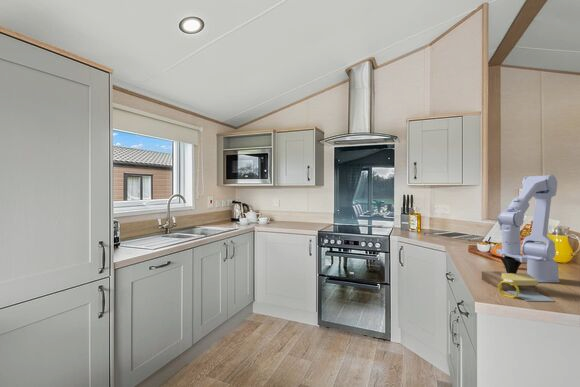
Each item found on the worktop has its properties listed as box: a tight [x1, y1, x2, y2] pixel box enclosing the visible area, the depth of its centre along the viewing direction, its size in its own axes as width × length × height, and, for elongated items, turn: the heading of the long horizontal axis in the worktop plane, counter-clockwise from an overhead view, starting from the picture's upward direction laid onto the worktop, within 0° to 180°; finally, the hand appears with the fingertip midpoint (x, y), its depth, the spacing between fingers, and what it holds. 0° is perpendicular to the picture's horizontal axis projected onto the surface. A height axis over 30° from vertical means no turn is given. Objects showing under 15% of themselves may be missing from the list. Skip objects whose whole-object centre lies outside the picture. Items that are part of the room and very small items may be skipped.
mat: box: [505, 290, 556, 303], centre depth 101 cm, size 9×10×1 cm
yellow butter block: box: [501, 272, 539, 287], centre depth 106 cm, size 9×6×2 cm, turn 84°
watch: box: [497, 279, 519, 299], centre depth 101 cm, size 6×3×6 cm, turn 37°
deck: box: [481, 270, 537, 292], centre depth 113 cm, size 12×13×4 cm
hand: (511, 276), depth 110 cm, fingers closed
